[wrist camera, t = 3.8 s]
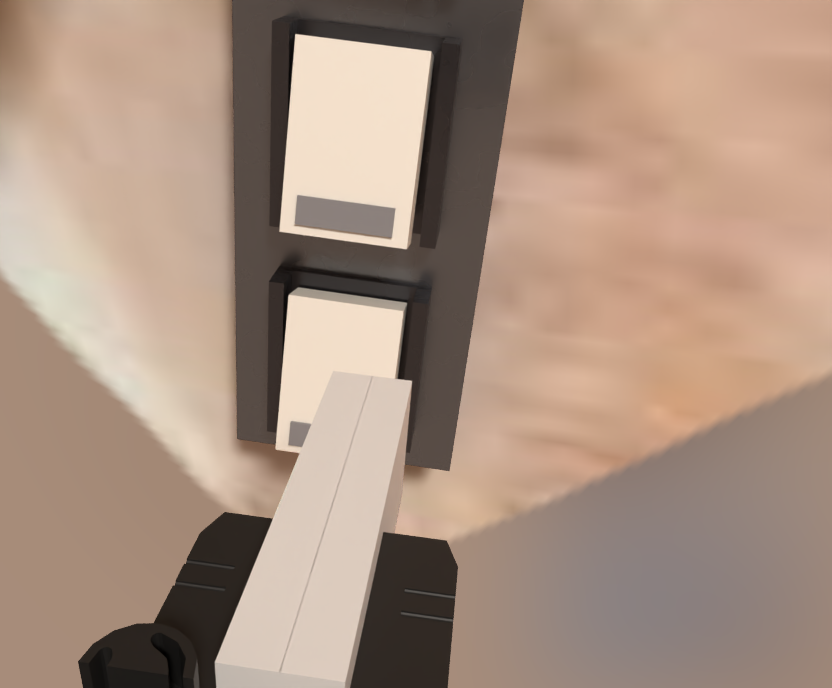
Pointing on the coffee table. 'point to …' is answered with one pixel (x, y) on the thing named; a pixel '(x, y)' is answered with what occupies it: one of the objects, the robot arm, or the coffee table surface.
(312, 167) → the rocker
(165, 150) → the coffee table surface
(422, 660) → the robot arm
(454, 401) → the rocker switch panel
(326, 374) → the rocker
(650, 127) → the coffee table surface
